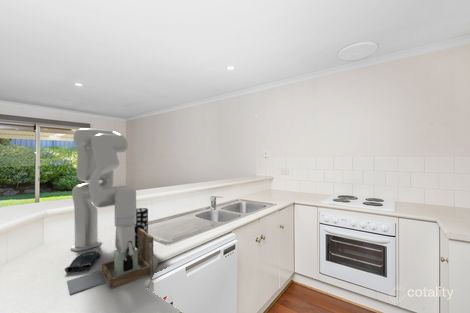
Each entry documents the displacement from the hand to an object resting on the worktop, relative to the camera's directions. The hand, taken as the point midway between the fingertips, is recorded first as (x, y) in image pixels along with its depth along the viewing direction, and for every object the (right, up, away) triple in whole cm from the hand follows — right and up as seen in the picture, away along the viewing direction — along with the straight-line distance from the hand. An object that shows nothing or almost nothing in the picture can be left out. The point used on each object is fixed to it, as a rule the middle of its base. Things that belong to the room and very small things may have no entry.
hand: (126, 266), depth 83 cm
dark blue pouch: (-21, -3, +8) cm, 23 cm away
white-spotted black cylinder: (-3, -3, +17) cm, 18 cm away
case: (0, -2, 0) cm, 2 cm away
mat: (-11, -3, -6) cm, 13 cm away
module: (0, -3, 0) cm, 3 cm away
